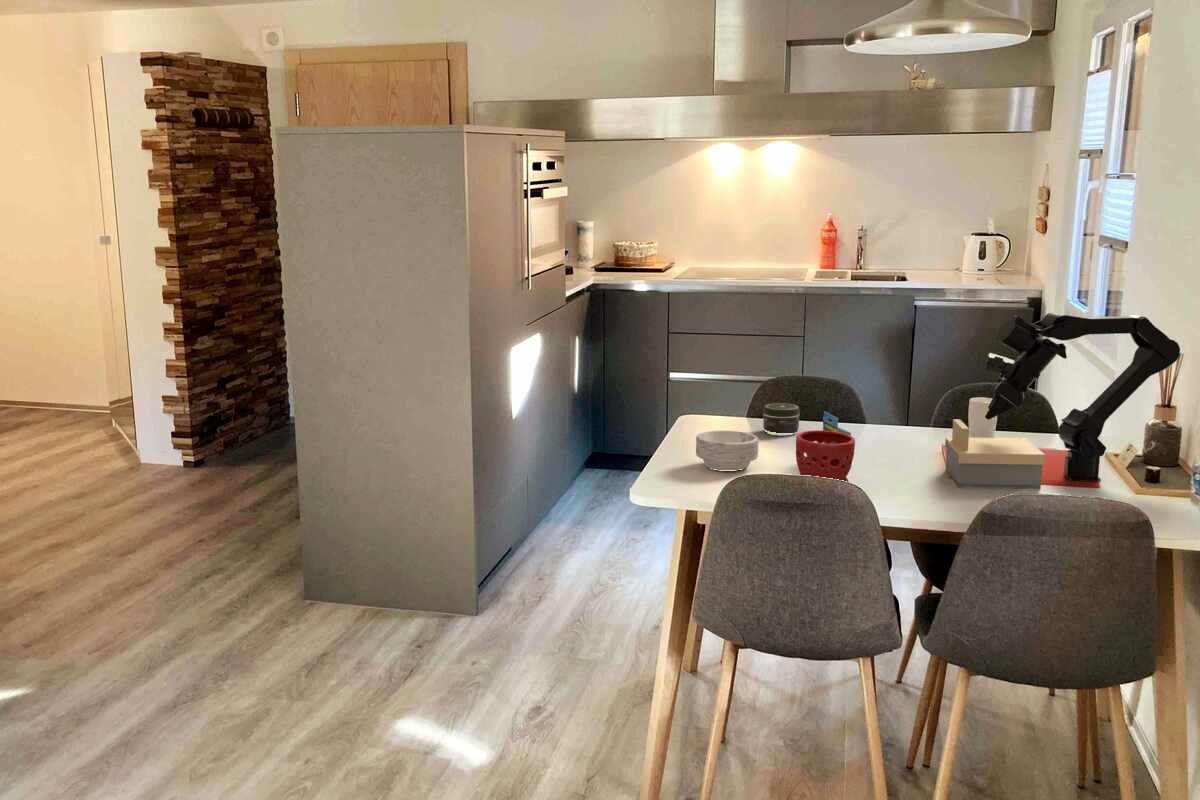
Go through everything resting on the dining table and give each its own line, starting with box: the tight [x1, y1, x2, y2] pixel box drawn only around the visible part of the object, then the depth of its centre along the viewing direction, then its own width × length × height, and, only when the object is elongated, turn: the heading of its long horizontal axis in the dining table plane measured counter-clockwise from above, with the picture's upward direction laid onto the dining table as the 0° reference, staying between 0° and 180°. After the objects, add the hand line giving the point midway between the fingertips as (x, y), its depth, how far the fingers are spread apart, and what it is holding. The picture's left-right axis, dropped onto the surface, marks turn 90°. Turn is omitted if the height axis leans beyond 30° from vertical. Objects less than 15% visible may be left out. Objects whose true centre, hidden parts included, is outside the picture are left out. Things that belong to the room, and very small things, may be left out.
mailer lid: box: [944, 418, 1046, 466], centre depth 243 cm, size 18×16×7 cm
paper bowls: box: [695, 429, 760, 470], centre depth 258 cm, size 15×15×8 cm
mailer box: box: [944, 443, 1043, 490], centre depth 244 cm, size 18×14×7 cm
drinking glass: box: [968, 396, 998, 438], centre depth 263 cm, size 7×7×15 cm
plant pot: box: [795, 429, 856, 483], centre depth 240 cm, size 13×13×12 cm
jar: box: [762, 402, 800, 433], centre depth 295 cm, size 10×10×8 cm
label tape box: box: [822, 411, 852, 460], centre depth 261 cm, size 9×4×12 cm, turn 12°
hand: (988, 413), depth 247 cm, fingers open, 9 cm apart
